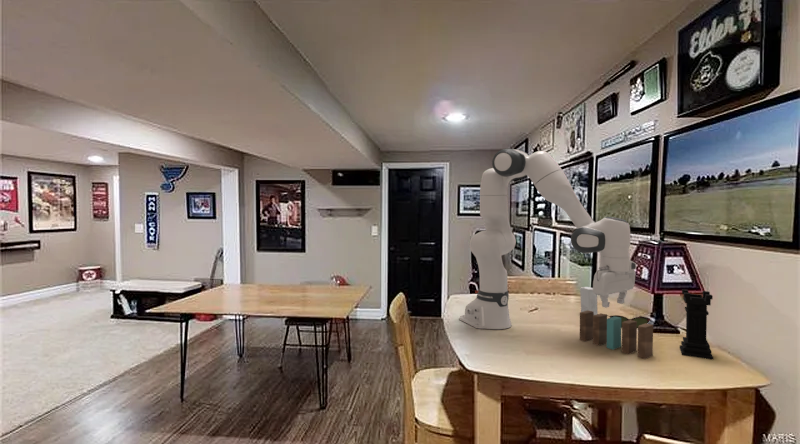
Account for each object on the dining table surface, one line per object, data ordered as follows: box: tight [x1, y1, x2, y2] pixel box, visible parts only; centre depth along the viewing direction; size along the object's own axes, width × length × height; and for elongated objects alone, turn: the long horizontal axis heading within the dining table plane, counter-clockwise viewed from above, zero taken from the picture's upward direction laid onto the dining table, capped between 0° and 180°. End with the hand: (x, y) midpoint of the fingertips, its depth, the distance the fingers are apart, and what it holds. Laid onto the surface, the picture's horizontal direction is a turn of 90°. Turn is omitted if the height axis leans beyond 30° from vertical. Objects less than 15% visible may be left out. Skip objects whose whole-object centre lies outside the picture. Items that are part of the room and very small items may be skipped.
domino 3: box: [606, 317, 622, 351], centre depth 136 cm, size 2×5×10 cm, turn 123°
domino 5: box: [637, 323, 654, 360], centre depth 127 cm, size 2×5×10 cm, turn 123°
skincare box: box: [579, 286, 599, 315], centre depth 176 cm, size 6×4×12 cm
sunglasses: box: [605, 313, 651, 328], centre depth 164 cm, size 14×15×5 cm
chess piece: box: [679, 289, 714, 360], centre depth 129 cm, size 8×8×20 cm
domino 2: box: [592, 313, 608, 346], centre depth 140 cm, size 2×5×10 cm, turn 123°
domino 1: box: [579, 310, 594, 342], centre depth 144 cm, size 2×5×10 cm, turn 123°
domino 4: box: [621, 320, 638, 355], centre depth 132 cm, size 2×5×10 cm, turn 123°
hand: (613, 305), depth 136 cm, fingers open, 8 cm apart
